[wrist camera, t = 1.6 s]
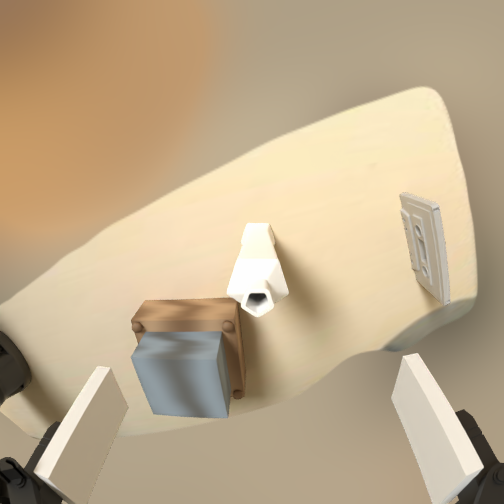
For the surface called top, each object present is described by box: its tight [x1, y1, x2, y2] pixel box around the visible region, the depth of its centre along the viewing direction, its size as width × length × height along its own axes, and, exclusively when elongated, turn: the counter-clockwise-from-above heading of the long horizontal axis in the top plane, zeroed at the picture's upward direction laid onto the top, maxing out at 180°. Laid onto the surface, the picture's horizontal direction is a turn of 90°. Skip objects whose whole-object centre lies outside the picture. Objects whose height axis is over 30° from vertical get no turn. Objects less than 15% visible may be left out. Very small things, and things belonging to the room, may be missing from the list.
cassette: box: [399, 192, 450, 306], centre depth 29 cm, size 12×2×8 cm, turn 22°
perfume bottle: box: [227, 223, 289, 317], centre depth 26 cm, size 5×4×15 cm
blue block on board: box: [131, 298, 246, 418], centre depth 33 cm, size 12×12×10 cm
